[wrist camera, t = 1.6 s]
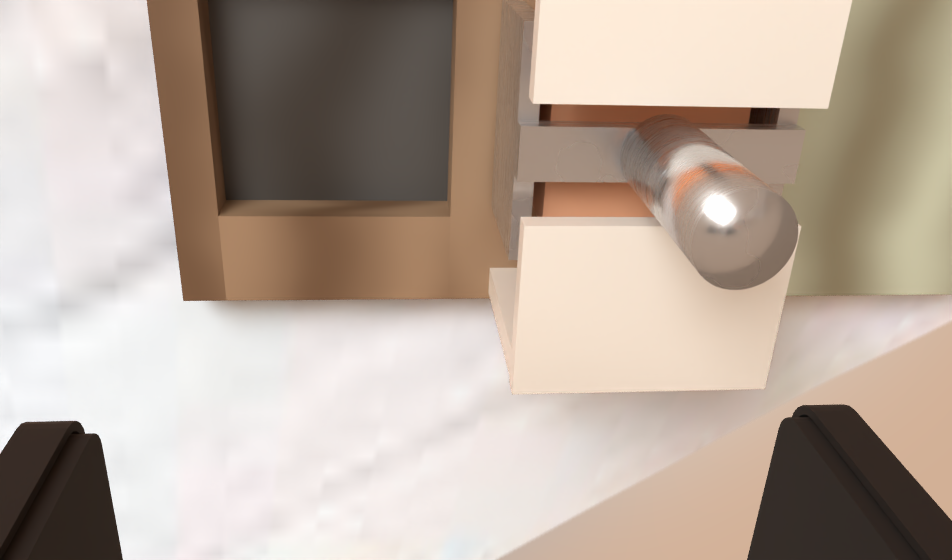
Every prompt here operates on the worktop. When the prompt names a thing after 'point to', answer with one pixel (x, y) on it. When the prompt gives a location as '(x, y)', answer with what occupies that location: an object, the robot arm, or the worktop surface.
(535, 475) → the worktop surface
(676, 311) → the toy bench
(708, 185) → the slider
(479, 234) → the board
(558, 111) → the block
